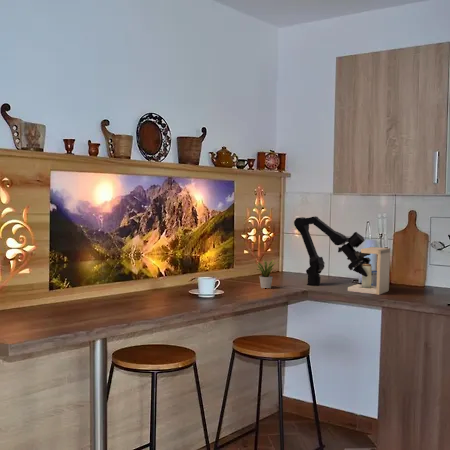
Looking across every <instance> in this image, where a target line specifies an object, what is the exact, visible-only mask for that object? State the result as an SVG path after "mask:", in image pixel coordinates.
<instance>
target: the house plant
mask: <svg viewBox="0 0 450 450" xmlns="http://www.w3.org/2000/svg"><path fill="white" fill-rule="evenodd" d="M261 259H262V258H261ZM262 261H263V263H264V266H263V265H262V263H261V262H260V261H256V263H257V268H256V270H257V271H259V273H260V274H261V275H259V282H260V288H261V289H263V288H270V289H271V288H272V281H273V278H274V276H272V275H271V274H272V273H273V274H274V273H275V274H276V272H275V271H277V270H276V269H275V270H273V269H274V265H276V264H278V261H277V262H275V259H273V260H271V261H270V262H269V264H268V263H267V260H264V259H262ZM272 270H273V271H272Z"/></svg>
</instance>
